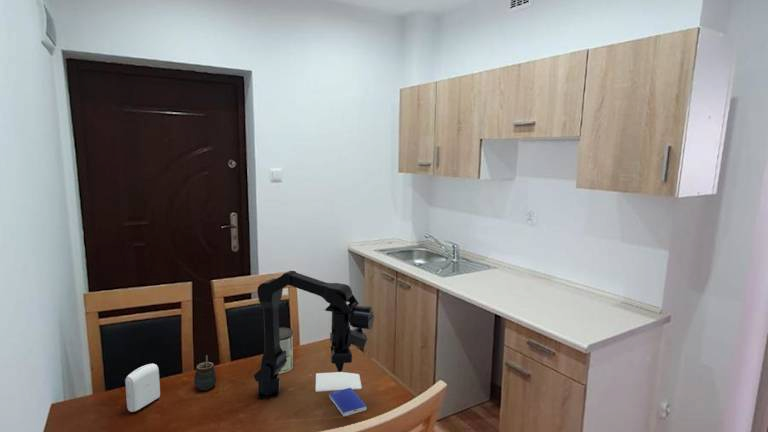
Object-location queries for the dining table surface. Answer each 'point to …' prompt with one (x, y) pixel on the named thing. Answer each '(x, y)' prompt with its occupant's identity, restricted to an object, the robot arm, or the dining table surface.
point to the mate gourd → (205, 375)
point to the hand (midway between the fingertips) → (340, 371)
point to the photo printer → (142, 387)
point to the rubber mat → (337, 381)
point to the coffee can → (286, 347)
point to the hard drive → (347, 401)
